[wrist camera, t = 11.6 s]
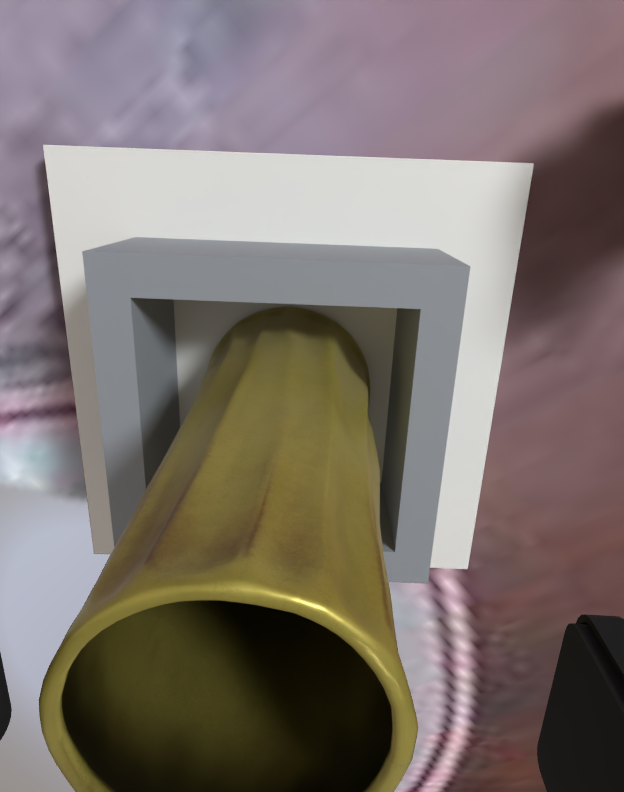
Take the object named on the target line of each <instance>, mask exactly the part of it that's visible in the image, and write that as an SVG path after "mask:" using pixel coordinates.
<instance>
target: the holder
mask: <svg viewBox="0 0 624 792" xmlns="http://www.w3.org/2000/svg"><path fill="white" fill-rule="evenodd" d="M43 148H44V156H45V164H46V172H47V180H48V188H49V196H50V204H51V212H52V220H53V228H54V236H55V244H56V252H57V260H58V268H59V276H60V284H61V293H62V301H63V309H64V317H65V325H66V333H67V341H68V349H69V357H70V365H71V373H72V381H73V389H74V397H75V405H76V413H77V421H78V429H79V437H80V445H81V453H82V461H83V469H84V477H85V485H86V493H87V501H88V509H89V517H90V525H91V532H92V541H93V549H94V554H111V553H112V551H113V549H114V547H115V546H116V544H117V542H118V540H119V539H120V537H121V535H122V533H123V532H124V530H125V528H126V526H127V524H128V523H129V521H130V519H131V517H132V516H133V514H134V512H135V510H136V508H137V506H138V504H139V502H140V500H141V498H142V496H143V494H144V492H145V491H146V489H147V487H148V485H149V483H150V482H151V480H152V478H153V476H154V475H155V473H156V471H157V469H158V468H159V466H160V464H161V462H162V461H163V459H164V457H165V455H166V453H167V452H168V450H169V448H170V446H171V444H172V442H173V440H174V438H175V436H176V434H177V433H178V431H179V429H180V427H181V425H182V423H183V421H184V420H185V418H186V416H187V414H188V412H189V410H190V408H191V406H192V404H193V402H194V399H195V397H196V395H197V392H198V390H199V387H200V385H201V382H202V380H203V378H204V376H205V373H206V371H207V369H208V365H209V361H210V359H211V356H212V354H213V352H214V350H215V348H216V346H217V345H218V343H219V342H220V340H221V339H222V338H223V336H224V335H225V334H226V333H227V332H228V331H229V330H230V329H231V328H232V327H233V326H234V325H236V324H237V323H238V322H239V321H241V320H243V319H244V318H246V317H248V316H250V315H252V314H255V313H257V312H260V311H264V310H268V309H272V308H280V307H292V308H300V309H306V310H309V311H313V312H316V313H318V314H321V315H323V316H325V317H327V318H330V319H331V320H333V321H334V322H336V323H338V324H339V325H340V326H341V327H342V328H344V329H345V331H346V332H347V333H348V334H349V335H350V336H351V337H352V338H353V340H354V341H355V342H356V344H357V345H358V347H359V348H360V350H361V352H362V354H363V355H364V357H365V360H366V363H367V366H368V371H369V378H370V403H369V408H368V414H369V417H370V421H371V424H372V428H373V433H374V440H375V445H376V450H377V455H378V463H379V468H380V531H381V539H382V546H383V553H384V559H385V565H386V571H387V576H388V582H402V583H426V584H428V578H429V571H430V568H454V569H468V563H469V557H470V551H471V545H472V538H473V532H474V526H475V520H476V514H477V508H478V502H479V496H480V490H481V484H482V477H483V471H484V465H485V459H486V453H487V447H488V441H489V435H490V429H491V422H492V416H493V410H494V404H495V398H496V392H497V386H498V380H499V374H500V367H501V361H502V355H503V349H504V343H505V337H506V331H507V325H508V319H509V312H510V306H511V300H512V294H513V288H514V282H515V276H516V270H517V264H518V258H519V251H520V245H521V239H522V233H523V227H524V221H525V215H526V209H527V203H528V196H529V190H530V184H531V178H532V172H533V166H534V163H510V162H483V161H457V160H430V159H404V158H377V157H351V156H324V155H298V154H271V153H245V152H218V151H192V150H165V149H139V148H112V147H86V146H59V145H43Z"/></svg>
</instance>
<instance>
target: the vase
mask: <svg viewBox="0 0 624 792" xmlns="http://www.w3.org/2000/svg"><path fill="white" fill-rule="evenodd" d="M369 403H370V378H369V371H368V366H367V363H366V360H365V357H364V355H363V354H362V352H361V350H360V348H359V347H358V345H357V344H356V342H355V341H354V340H353V338H352V337H351V336H350V335H349V334H348V333H347V332H346V331H345V329H344V328H342V327H341V326H340V325H339V324H338V323H336V322H334V321H333V320H331V319H330V318H327V317H325V316H323V315H321V314H318V313H316V312H313V311H309V310H306V309H300V308H292V307H280V308H272V309H268V310H264V311H260V312H257V313H255V314H252V315H250V316H248V317H246V318H244V319H243V320H241V321H239V322H238V323H237V324H236V325H234V326H233V327H232V328H231V329H230V330H229V331H228V332H227V333H226V334H225V335H224V336H223V338H222V339H221V340H220V342H219V343H218V345H217V346H216V348H215V350H214V352H213V354H212V356H211V359H210V361H209V365H208V369H207V371H206V373H205V376H204V378H203V380H202V382H201V385H200V387H199V390H198V392H197V395H196V397H195V399H194V402H193V404H192V406H191V408H190V410H189V412H188V414H187V416H186V418H185V420H184V421H183V423H182V425H181V427H180V429H179V431H178V433H177V434H176V436H175V438H174V440H173V442H172V444H171V446H170V448H169V450H168V452H167V453H166V455H165V457H164V459H163V461H162V462H161V464H160V466H159V468H158V469H157V471H156V473H155V475H154V476H153V478H152V480H151V482H150V483H149V485H148V487H147V489H146V491H145V492H144V494H143V496H142V498H141V500H140V502H139V504H138V506H137V508H136V510H135V512H134V514H133V516H132V517H131V519H130V521H129V523H128V524H127V526H126V528H125V530H124V532H123V533H122V535H121V537H120V539H119V540H118V542H117V544H116V546H115V547H114V549H113V551H112V553H111V555H110V557H109V559H108V561H107V563H106V564H105V567H104V568H103V570H102V572H101V574H100V576H99V578H98V580H97V582H96V584H95V585H94V588H93V589H92V591H91V593H90V595H89V596H88V598H87V601H86V602H85V604H84V606H83V608H82V610H81V611H80V613H79V615H78V616H77V617H76V619H75V620H74V622H73V623H72V625H71V626H70V628H69V630H68V632H67V634H66V636H65V638H64V640H63V642H62V644H61V646H60V647H59V649H58V651H57V653H56V654H55V656H54V658H53V660H52V662H51V664H50V666H49V668H48V671H47V673H46V675H45V678H44V680H43V684H42V689H41V693H40V697H39V712H40V721H41V727H42V733H43V735H44V738H45V741H46V744H47V747H48V749H49V752H50V753H51V755H52V757H53V759H54V761H55V763H56V764H57V766H58V767H59V769H60V770H61V772H62V773H63V775H64V776H65V778H66V779H67V781H68V782H69V783H70V785H71V786H72V788H73V789H74V790H75V792H394V790H395V789H396V787H397V786H398V784H399V783H400V781H401V780H402V778H403V776H404V774H405V772H406V770H407V768H408V766H409V765H410V763H411V761H412V758H413V752H414V748H415V743H416V738H417V731H418V723H417V717H416V712H415V709H414V705H413V700H412V696H411V693H410V689H409V686H408V682H407V679H406V675H405V672H404V669H403V666H402V663H401V660H400V657H399V654H398V648H397V641H396V635H395V627H394V620H393V611H392V603H391V595H390V588H389V582H388V576H387V571H386V565H385V559H384V553H383V546H382V539H381V531H380V468H379V463H378V455H377V450H376V445H375V440H374V433H373V428H372V424H371V421H370V417H369V414H368V408H369Z"/></svg>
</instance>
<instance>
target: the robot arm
mask: <svg viewBox="0 0 624 792" xmlns="http://www.w3.org/2000/svg"><path fill="white" fill-rule="evenodd" d="M10 718H11V703H10V698H9V693H8V688H7V683H6V679H5V673H4V669H3V663H2V658H1V654H0V740H1V739H2V737H3V735H4V734H5V732H6V730H7V727H8V725H9V722H10ZM537 756H538V764H539V769H540V772H541V775H542V778H543V781H544V784H545V787H546V790H547V792H624V619H622V618H621V617H616V616H600V615H581V616H580V617H579V618H578V620H577V622H576V624H569V625H568V626H567V628H566V630H565V634H564V638H563V642H562V647H561V651H560V655H559V659H558V663H557V667H556V671H555V675H554V679H553V684H552V688H551V692H550V696H549V700H548V704H547V708H546V712H545V716H544V721H543V725H542V729H541V733H540V737H539V741H538V747H537Z"/></svg>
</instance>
